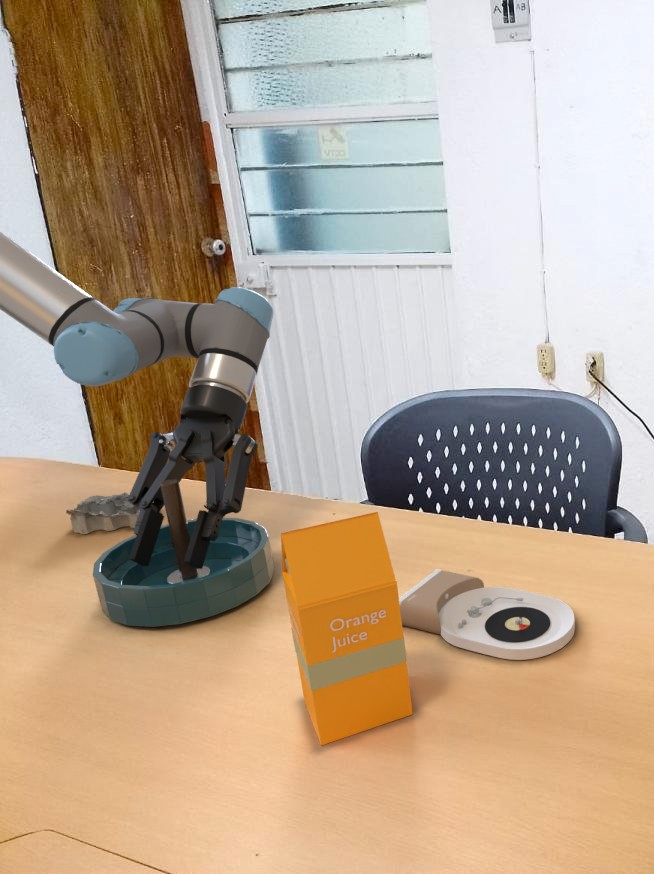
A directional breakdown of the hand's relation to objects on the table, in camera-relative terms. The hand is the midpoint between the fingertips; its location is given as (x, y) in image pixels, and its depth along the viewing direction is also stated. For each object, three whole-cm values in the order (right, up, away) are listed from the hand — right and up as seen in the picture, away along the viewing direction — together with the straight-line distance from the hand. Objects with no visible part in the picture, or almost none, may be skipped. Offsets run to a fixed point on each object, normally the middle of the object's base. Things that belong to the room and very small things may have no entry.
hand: (165, 563), depth 100 cm
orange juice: (+29, -12, -18) cm, 36 cm away
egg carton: (-21, +3, +26) cm, 33 cm away
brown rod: (+1, -3, +5) cm, 6 cm away
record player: (+40, -7, -4) cm, 40 cm away
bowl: (+1, -4, +5) cm, 7 cm away
